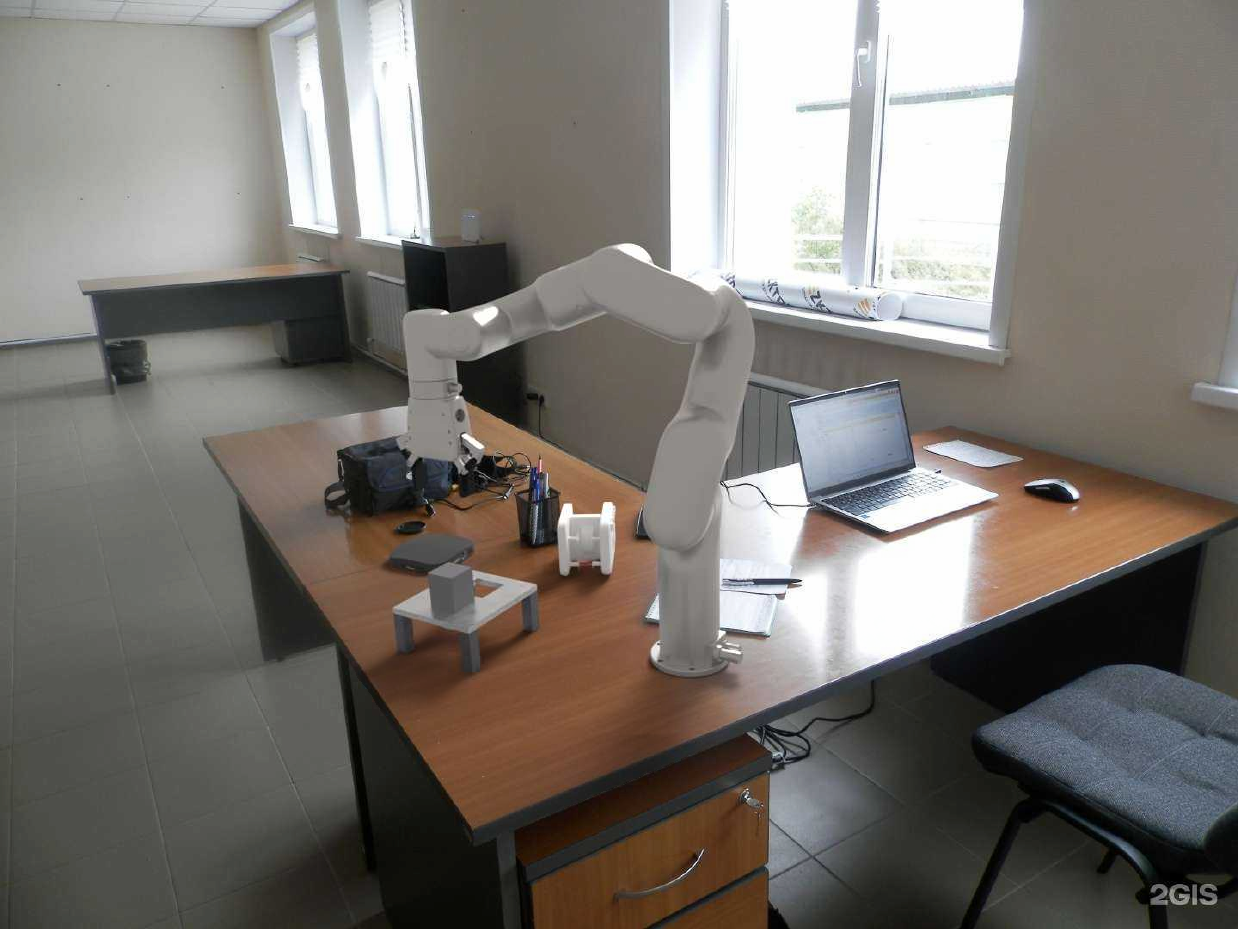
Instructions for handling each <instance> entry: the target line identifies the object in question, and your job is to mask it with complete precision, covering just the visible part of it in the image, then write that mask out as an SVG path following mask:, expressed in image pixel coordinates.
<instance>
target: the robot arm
mask: <svg viewBox="0 0 1238 929" xmlns="http://www.w3.org/2000/svg"><path fill="white" fill-rule="evenodd" d="M605 314H609V315H611V316H613V317H615V318H618V319H620V320H622V321H624V322H626V323H628V324H631V325H633V326H635V327H638V328H640V329H642V330H644V331H646V332H649V333H650V334H651V333H652V334H654V335H655V336H658V337H660V338H663V339H665V340H667V341H671V342H672V343H677V344H683V345H693V344H696V345H695V351H694V356H693V359H692V361H691V365H690V369H689V372H688V379H687V384H686V387H685V390H684V394H683V398H682V401H681V404H680V408H679V410H678V411H677V413H676V414H675V416H674V417H673V418H672V419H671V421H670V422H669V423H668V424H667V426H666V428H665V429H664V431H663V432H662V436H661V437H660V440H659V443H658V446H657V450H656V455H655V457H654V463H653V466H652V472H651V474H650V479H649V482H648V487H647V491H646V495H645V500H644V505H643V510H642V521H643V528H644V530H645V532H646V534H647V536H648V537H649V539H650V540H651V541H652V542H653V543H654V544H655V545H657V577H658V578H657V581H658V582H657V584H658V620H659V621H658V623H659V628H658V629H659V640H658V641H656V642H655V643H654V644H653V645H652V647H651V648H650V652H649V653H650V654H649V656H650V661H651V663H652V664H653V666H654V668H656V669H658V670H659V671H661V672H663V673H665V674H668V675H672V676H676V677H682V678H683V677H684V678H697V677H698V678H699V677H704V676H710V675H713V674H715V673H717V672H719V671H721V670H722V669H724V668H725V667H726V666H727V665H728V664H729V663H732V664H735V665H739V666H740V665H741V664H742V662H743V659H744V653H743V652H742V645H741V644H738V643H737V644H736V643H731V642H729V641H728V640H727V634H726V633H727V632H726V631H725V630H721V627H720V626H721V625H720V624H721V621H720V620H721V615H720V614H721V608H720V607H721V605H720V604H721V601H720V598H721V597H720V596H721V595H720V594H721V591H720V590H721V588H720V581H721V580H720V577H721V575H720V568H721V549H720V548H721V529H722V515H723V514H722V512H723V511H722V510H723V496H722V490H721V487H720V484H721V483H720V482H721V479H722V475H723V472H724V468H725V466H726V462H727V459H728V458H729V457H730V454H731V453H732V451H733V448H734V445H735V442H736V436H737V429H738V425H739V420H740V416H741V413H742V412H741V411H742V408H743V405H744V401H745V398H746V397H745V396H746V392H747V386H748V382H749V379H750V374H751V370H752V366H753V361H754V356H755V348H756V347H755V346H756V337H755V336H756V335H755V334H756V333H755V327H754V326H755V325H754V322H753V318H752V314H751V313H750V310H749V307H748V305H747V303H746V302H745V300H744V299H743V297H742V296H741V295H740V293H739V292H738V291H737V290H736V289H735V288H734V287H733V286H732V285H731V284H730V283H728V282H727V281H726V280H724V279H722V278H720V277H719V276H715V275H713V274H709V273H697V274H693V275H690V276H688V277H683V276H681V275H679V274H675V273H673V272H671V271H668V270H667V269H663V268H661V267H659V266H657V265H654V261H653V260H652V257H651V256H650V254H649V253H648V251H646V250H645V249H644V248H643V247H641V246H639V245H636V244H633V243H618V244H613V245H609V246H605V247H602V248H600V249H598V250H596V251H594V253H592V254H591V255H589V256H586V257H583V258H581V259H579V260H577V261H574V262H571V263H569V264H566V265H564V266H561V267H559V268H556V269H553V270H551V271H549V272H546V273H543V274H542V275H540V276H538V277H537V278H536V280H535V281H533V283H532V284H530V285H528V286H525V287H524V288H522V289H519V290H518V291H514V292H513V293H510V294H507V295H505V296H503V297H500V298H497V299H495V300H492V301H488V302H487V303H485V304H484V303H483V304H480V305H476V306H472V307H470V308H466V309H464V310H461V311H456V312H449V311H447V310H444V309H440V308H427V309H417V310H416V309H415V310H411V311H408V312H407V313H406V314H404V316H403V319H402V328H403V339H404V348H405V358H406V364H407V365H406V366H407V367H406V368H407V375H408V377H407V378H408V387H409V397H408V401H407V410H406V411H407V412H406V415H407V416H406V418H407V419H406V426H407V431H406V432H405V433H403V434H401V435H400V436H398V437H396V439H395V440H396V441H395V442H396V443H397V446H398V449H400V450H401V451H400V454H401V456H402V457H403V458H404V459H405V460H406V465H407V467H409V468H410V474H411V482H412V489H413V491H419V490H422V489H424V488H427V487H428V486H429V485H430V484H429V475H428V474H429V473H428V464H427V462H424V461H425V459H427V460H434V461H442V462H450V463H451V462H453V464H454V465H455V467H456V468H457V469H458V470H459V473H458V474H457V482H458V491H459V492H458V493H459V497H460V498H461V499H466V498H468V497H469V496H472V495H474V494H475V492H476V484H475V483H476V482H475V472H474V471H476V470H477V469H478V466H479V465H480V464H481V462H482V458H483V456H484V453H485V451H486V448H485V446H484V445H482V444H481V443H480V442H478V441H477V440H475V438H473V433H472V427H471V426H472V425H471V421H470V420H471V419H470V416H469V413H468V408H467V405H466V402H465V398H464V396H463V395H460V393H461V392H463V391H462V390H463V385H462V384H461V383H459V382H458V371H457V361H459V362H460V361H462V362H470V361H471V362H472V361H475V360H478V359H481V358H483V357H485V356H488V355H490V354H492V353H494V352H496V351H499V350H502V349H504V348H506V347H507V348H508V347H510V346H512V345H514V344H517V343H519V342H523V341H524V340H527V339H530V338H533V337H535V336H538V335H540V334H545V333H547V332H550V331H556V332H559V331H562V330H566V329H568V328H572V327H574V326H576V325H579V324H581V323H585V322H586V321H590V320H592V319H595V318H598V317H600V316H603V315H605Z"/></svg>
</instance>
